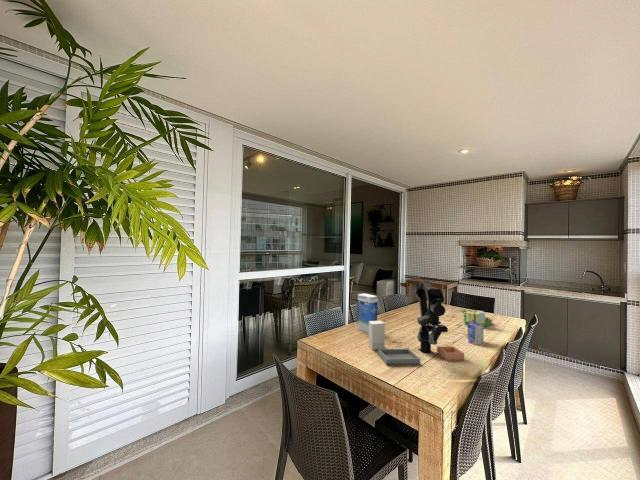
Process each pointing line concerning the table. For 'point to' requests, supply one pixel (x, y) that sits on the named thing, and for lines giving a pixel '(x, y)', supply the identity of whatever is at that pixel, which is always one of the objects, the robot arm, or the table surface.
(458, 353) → the bin
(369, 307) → the blue white lidded canister
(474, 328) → the ink cartridge box
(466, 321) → the toy landscape diorama
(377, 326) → the skincare box
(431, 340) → the battery cell
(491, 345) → the table surface
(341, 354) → the table surface
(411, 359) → the tray
